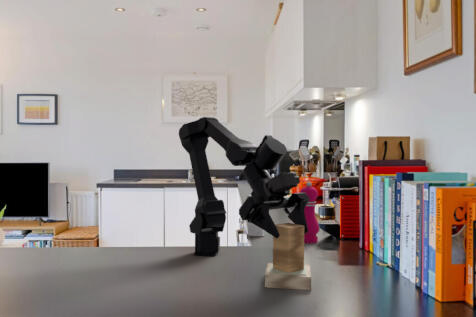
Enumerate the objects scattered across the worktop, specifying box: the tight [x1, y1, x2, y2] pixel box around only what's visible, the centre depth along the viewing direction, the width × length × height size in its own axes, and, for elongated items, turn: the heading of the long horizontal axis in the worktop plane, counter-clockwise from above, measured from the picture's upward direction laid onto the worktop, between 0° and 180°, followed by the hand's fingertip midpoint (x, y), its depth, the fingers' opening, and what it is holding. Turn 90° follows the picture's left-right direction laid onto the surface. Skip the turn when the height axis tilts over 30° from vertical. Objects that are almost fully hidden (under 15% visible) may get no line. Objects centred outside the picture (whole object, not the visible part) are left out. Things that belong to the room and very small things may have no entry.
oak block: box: [272, 222, 305, 273], centre depth 96 cm, size 5×5×10 cm
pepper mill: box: [299, 181, 320, 244], centre depth 140 cm, size 7×7×20 cm
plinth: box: [264, 262, 312, 291], centre depth 96 cm, size 10×10×3 cm
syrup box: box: [247, 193, 267, 237], centre depth 150 cm, size 6×6×14 cm
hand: (293, 234), depth 95 cm, fingers open, 9 cm apart
